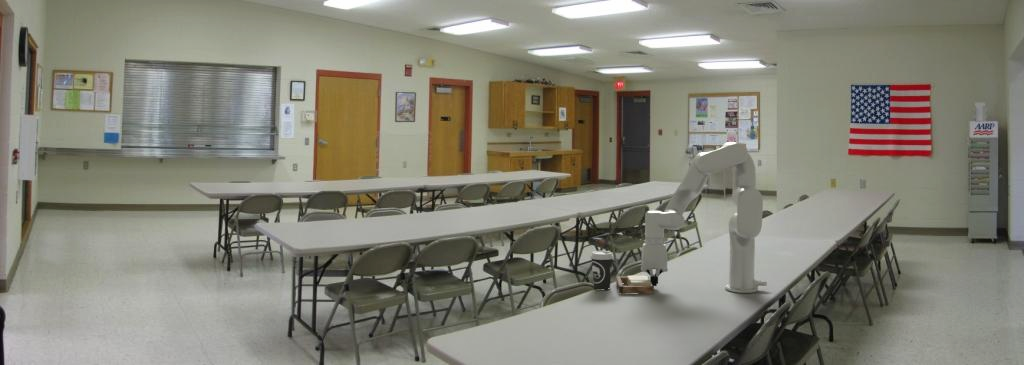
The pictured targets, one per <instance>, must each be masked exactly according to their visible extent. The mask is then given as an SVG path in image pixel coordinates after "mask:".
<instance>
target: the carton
mask: <svg viewBox="0 0 1024 365" xmlns="http://www.w3.org/2000/svg"><path fill="white" fill-rule="evenodd" d="M626 277H627V284H626V286H627V285H628V286H652V284H651V281H650V278H649V279H648V277H649V276H648V275H626Z"/></svg>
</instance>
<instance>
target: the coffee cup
mask: <svg viewBox="0 0 1024 365" xmlns="http://www.w3.org/2000/svg"><path fill="white" fill-rule="evenodd" d="M589 258H590V259H591V268H592V279H593V280H592V282H593V289H594V290H597V289H608V288H611V282H612V281H611V280H612V279H611V278H612V266H613V259H614V255H613V253H612V251H607V250H595V251H592V252H591V254H590V257H589ZM597 291H598V290H597Z"/></svg>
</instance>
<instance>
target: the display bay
mask: <svg viewBox="0 0 1024 365" xmlns="http://www.w3.org/2000/svg"><path fill="white" fill-rule="evenodd" d="M647 277H648V279H650V277H649V276H647ZM615 279H616V282H615V283H616V287H617V286H618V287H617V291H618V290H619V291H618V293H621V294H620V295H624V294H623V293H638V294H637V295H655V288H654V287H655V286H652V285H651V286H627V276H618V275H617V276H615ZM622 283H624V284H622Z"/></svg>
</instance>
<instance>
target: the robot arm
mask: <svg viewBox="0 0 1024 365" xmlns="http://www.w3.org/2000/svg"><path fill="white" fill-rule="evenodd" d="M755 166H756V165H755V162H754V160H753V158H752V155H750V154H749V152H748V148H747V146H746V145H745V144H743V143H741V142H737V141H736V142H735V141H728V142H724V143H723V144H722V145H721V147H720V148H718V149H715V150H711V151H707V152H706V151H702V152H698V153H697V154H696V155H695V157H694V158H693V160H692V161H691V163H690V166H689V167H688V168H687V171H686V173H685V174H684V177H683V178H682V180H681V182H680V184H679V185H678V187H677V188H676V190H675V191H674V193H673V195H672V196H671V198H670V200H669V201H668V203H667V205H666V207H665V209H664V211H661V210H647V211H646V212H645V216H644V224H645V225H644V243H643V244H642V247H641V258H640V259H641V261H640V262H641V263H640V264H641V267H640V270H641V272H644V273H647V275H649V276H650V277H649V279H650V281H651V286H654V287H657V285H658V284H659V276H660V275H661V274H662V273H666V272H668V271H669V270H668V269H669V268H668V252H667V246H666V244H665V243H668V242H669V240H668V238H666V237H665V230H672V231H677V230H681V229H682V228H683V227H684V225H685V222H686V220H685V217H684V213H685V212H686V209H687V207H688V206H689V205H690V203H692V201H693V200H694V199H696V198H697V197H698V196H699V195H700V194H701V193H702V190H703V189H704V186H705V184H706V183H707V181H708V179H709V178H710V176H711V174H716V173H719V172H723V171H725V170H727V169H730V168H731V169H732V193H731V194H732V195H731V200H732V203H733V204H734V206H735V207H736V209H737V210H736V212H735V213H733V214H732V215H731V217H730V218H729V221H728V232H729V233H728V234H729V271H728V276H729V277H728V278H729V281H728V283H727V284H726V285H724V289H725V290H726V291H729V292H733V293H736V294H737V293H739V294H753V293H756V292H758V291H759V287H760V286H761V287H767V285H768V282H767V281H766V280H761V279H759V280H757V279H756V278H755V265H756V264H755V259H756V258H755V256H756V252H755V251H756V242H755V240H756V237H758V236H759V235H760V234H761V232H762V226H763V211H764V209H763V208H764V200H763V196H762V193H761V192H760V191H759V189H758V188H757V186H756V184H757V183H756V181H757V180H756V178H757V177H756V172H757V171H756V167H755ZM654 270H655V271H654ZM653 271H654V273H653Z"/></svg>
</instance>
